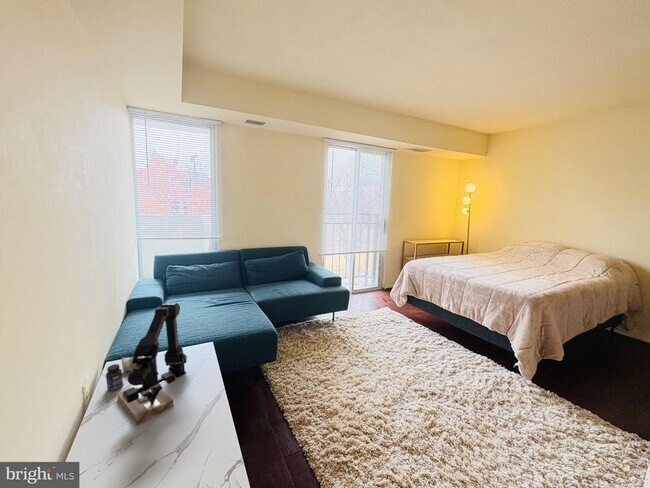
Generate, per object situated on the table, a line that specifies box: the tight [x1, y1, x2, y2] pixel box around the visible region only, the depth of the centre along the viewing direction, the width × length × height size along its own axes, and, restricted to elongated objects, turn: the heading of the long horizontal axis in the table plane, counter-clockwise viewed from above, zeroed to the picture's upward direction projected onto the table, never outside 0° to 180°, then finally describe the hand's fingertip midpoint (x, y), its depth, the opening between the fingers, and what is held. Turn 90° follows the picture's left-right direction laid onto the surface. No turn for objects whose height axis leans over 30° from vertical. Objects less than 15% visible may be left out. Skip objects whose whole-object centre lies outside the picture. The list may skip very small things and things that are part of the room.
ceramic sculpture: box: [121, 355, 144, 373], centre depth 151 cm, size 11×9×15 cm
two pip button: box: [129, 385, 142, 389], centre depth 131 cm, size 5×5×3 cm
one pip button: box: [143, 399, 161, 411], centre depth 121 cm, size 5×5×3 cm
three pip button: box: [137, 390, 151, 403], centre depth 126 cm, size 5×5×3 cm
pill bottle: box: [105, 363, 124, 392], centre depth 136 cm, size 6×6×11 cm
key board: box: [117, 387, 175, 426], centre depth 126 cm, size 14×24×3 cm, turn 52°
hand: (152, 403), depth 121 cm, fingers closed, pressing on one pip button
